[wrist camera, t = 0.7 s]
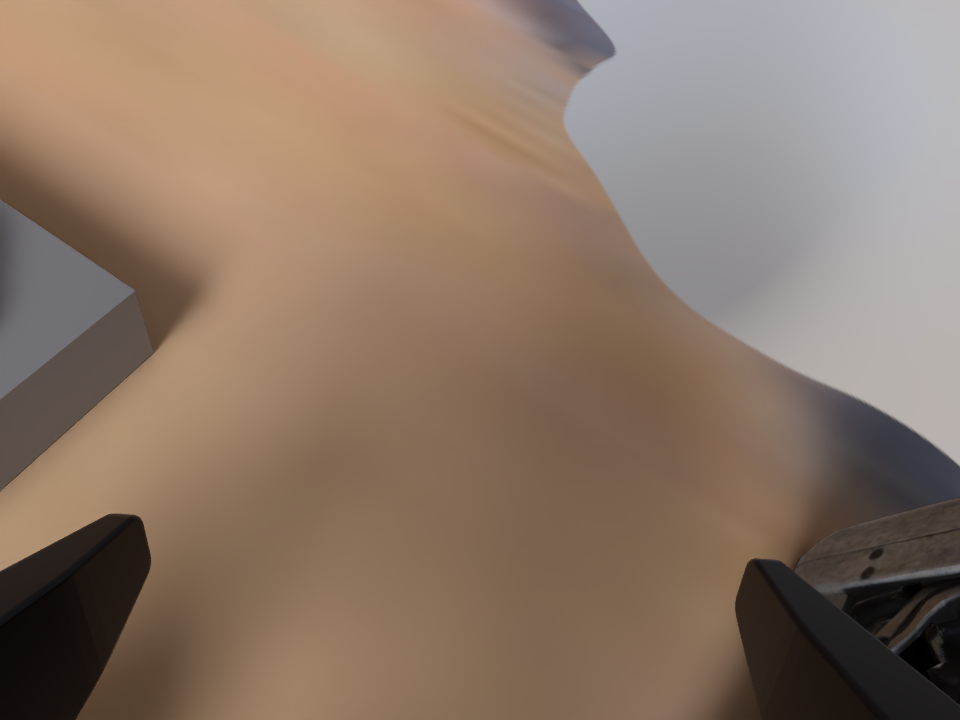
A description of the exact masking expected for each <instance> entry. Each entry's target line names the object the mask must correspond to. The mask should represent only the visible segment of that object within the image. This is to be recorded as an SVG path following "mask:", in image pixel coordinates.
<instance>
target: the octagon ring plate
mask: <svg viewBox="0 0 960 720" xmlns="http://www.w3.org/2000/svg"><path fill="white" fill-rule="evenodd" d="M153 353H154V352H153V349H152V345H151V342H150V338H149V335H148V332H147V328H146V325H145V321H144V318H143V315H142V311H141V308H140V305H139V301H138V298H137V294H136V291H135V290H134V289H132V288H131V287H129V286H128V285H126V284H125V283H123V282H122V281H120V280H119V279H117V278H116V277H114V276H113V275H111V274H110V273H109V272H107V271H106V270H104V269H103V268H101V267H100V266H98V265H97V264H95V263H94V262H92V261H91V260H89V259H88V258H86V257H85V256H83V255H82V254H80V253H79V252H77V251H76V250H74V249H73V248H71V247H70V246H68V245H67V244H66V243H64V242H63V241H61V240H60V239H58V238H57V237H55V236H54V235H52V234H51V233H49V232H48V231H46V230H45V229H43V228H42V227H40V226H39V225H37V224H36V223H34V222H33V221H31V220H30V219H28V218H27V217H26V216H24V215H23V214H21V213H20V212H18V211H17V210H15V209H14V208H12V207H11V206H9V205H8V204H6V203H5V202H3V201H2V200H0V490H1V489H3V488H4V487H5V486H6V485H7V484H8V483H9V482H10V481H11V480H13V479H14V478H15V477H16V476H17V475H18V474H19V473H20V472H21V471H23V470H24V469H25V468H26V467H27V466H28V465H29V464H30V463H31V462H33V461H34V460H35V459H36V458H37V457H38V456H39V455H40V454H42V453H43V452H44V451H45V450H46V449H47V448H48V447H49V446H50V445H52V444H53V443H54V442H55V441H56V440H57V439H58V438H59V437H60V436H62V435H63V434H64V433H65V432H66V431H67V430H68V429H69V428H70V427H72V426H73V425H74V424H75V423H76V422H77V421H78V420H79V419H81V418H82V417H83V416H84V415H85V414H86V413H87V412H88V411H89V410H91V409H92V408H93V407H94V406H95V405H96V404H97V403H98V402H99V401H101V400H102V399H103V398H104V397H105V396H106V395H107V394H108V393H110V392H111V391H112V390H113V389H114V388H115V387H116V386H117V385H118V384H120V383H121V382H122V381H123V380H124V379H125V378H126V377H127V376H128V375H130V374H131V373H132V372H133V371H134V370H135V369H136V368H137V367H138V366H140V365H141V364H142V363H143V362H144V361H145V360H146V359H147V358H149V357H150V356H151V355H152V354H153Z"/></svg>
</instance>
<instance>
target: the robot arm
mask: <svg viewBox="0 0 960 720" xmlns="http://www.w3.org/2000/svg"><path fill="white" fill-rule="evenodd" d="M150 566H151V554H150V550H149V546H148V542H147V537H146V533H145V529H144V524H143V521H142V520H141V518H140V517H139V516H136V515H130V514H109V515H106V516H104V517H102V518H100V519H98V520H97V521H95V522H93V523H91V524H89V525H87V526H85V527H83V528H81V529H80V530H78V531H76V532H74V533H72V534H70V535H68V536H66V537H64V538H63V539H61V540H59V541H57V542H55V543H53V544H51V545H49V546H47V547H45V548H44V549H42V550H40V551H38V552H36V553H34V554H32V555H30V556H28V557H27V558H25V559H23V560H21V561H19V562H17V563H15V564H13V565H11V566H10V567H8V568H6V569H4V570H2V571H0V720H76V718H77V716H78V715H79V713H80V711H81V709H82V708H83V706H84V704H85V703H86V701H87V699H88V697H89V696H90V694H91V692H92V691H93V689H94V687H95V685H96V683H97V682H98V680H99V678H100V676H101V674H102V673H103V671H104V669H105V667H106V665H107V663H108V661H109V659H110V657H111V654H112V652H113V650H114V648H115V646H116V644H117V641H118V639H119V637H120V635H121V633H122V630H123V628H124V626H125V624H126V622H127V620H128V617H129V615H130V613H131V611H132V609H133V606H134V604H135V602H136V600H137V598H138V596H139V593H140V591H141V589H142V587H143V585H144V582H145V580H146V578H147V576H148V573H149V570H150ZM735 611H736V618H737V622H738V626H739V631H740V635H741V639H742V643H743V648H744V652H745V656H746V660H747V665H748V669H749V673H750V677H751V682H752V686H753V690H754V694H755V699H756V703H757V707H758V711H759V714H760V718H761V720H960V705H959V704H957V703H956V702H955V701H954V700H952V699H951V698H950V697H949V696H948V695H946V694H945V693H944V692H943V691H941V690H940V689H939V688H938V687H936V686H935V685H934V684H933V683H931V682H930V681H929V680H928V679H926V678H925V677H924V676H923V675H921V674H920V673H919V672H918V671H917V670H915V669H914V668H913V667H912V666H910V665H909V664H908V663H907V662H905V661H904V660H903V659H902V658H900V657H899V656H898V655H897V654H895V653H894V652H893V651H892V650H891V649H889V648H888V647H887V646H886V645H884V644H883V643H882V642H881V641H879V640H878V639H877V638H876V637H874V636H873V635H872V634H871V633H869V632H868V631H867V630H866V629H864V628H863V627H862V626H861V625H860V624H858V623H857V622H856V621H855V620H853V619H852V618H851V617H850V616H848V615H847V614H846V613H845V612H843V611H842V610H841V609H840V608H838V607H837V606H836V605H835V604H833V603H832V602H831V601H830V600H829V599H827V598H826V597H825V596H824V595H822V594H821V593H820V592H819V591H817V590H816V589H815V588H814V587H812V586H811V585H810V584H809V583H807V582H806V581H805V580H804V579H803V578H801V577H800V576H799V575H798V574H796V573H795V572H794V571H793V570H791V569H790V568H789V567H788V566H786V565H785V564H784V563H782V562H781V561H778V560H771V559H757V558H755V559H751V560H750V561H749V562H748V563H747V566H746V568H745V571H744V575H743V578H742V581H741V584H740V587H739V591H738V594H737V597H736V602H735Z"/></svg>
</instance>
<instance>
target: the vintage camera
mask: <svg viewBox="0 0 960 720" xmlns="http://www.w3.org/2000/svg"><path fill="white" fill-rule="evenodd" d="M794 572H795V573H796V574H798V575H799V576H800V577H801V578H803V579H804V580H805V581H806V582H807V583H809V584H810V585H811V586H812V587H814V588H815V589H816V590H817V591H819V592H820V593H821V594H822V595H824V596H825V597H826V598H827V599H829V600H830V601H831V602H832V603H833V604H835V605H836V606H837V607H838V608H840V609H841V610H842V611H843V612H845V613H846V614H847V615H848V616H850V617H851V618H852V619H853V620H855V621H856V622H857V623H858V624H860V625H861V626H862V627H863V628H864V629H866V630H867V631H868V632H869V633H871V634H872V635H873V636H874V637H876V638H877V639H878V640H879V641H881V642H882V643H883V644H884V645H886V646H887V647H888V648H889V649H891V650H892V651H893V652H894V653H895V654H897V655H898V656H899V657H900V658H902V659H903V660H904V661H905V662H907V663H908V664H909V665H910V666H912V667H913V668H914V669H915V670H917V671H918V672H919V673H920V674H921V675H923V676H924V677H925V678H926V679H928V680H929V681H930V682H931V683H933V684H934V685H935V686H936V687H938V688H939V689H940V690H941V691H943V692H944V693H945V694H946V695H948V696H949V697H950V698H951V699H952V700H954V701H955V702H956V703H957V704H959V705H960V497H959V498H955V499H951V500H947V501H943V502H940V503H936V504H932V505H928V506H924V507H921V508H917V509H913V510H909V511H905V512H901V513H897V514H893V515H889V516H886V517H882V518H879V519H875V520H872V521H868V522H865V523H861V524H858V525H854V526H851V527H847V528H844V529H840V530H837V531H835V532H834V533H832V534H830V535H828V536H827V537H825V538H823V539H821V540H820V541H819V542H818V543H817V544H815V545H814V546H813V547H812V548H811V549H810V550H809V551H807V552H806V553H805V554H804V555H803V556H802V557H801V558H800V560H799V562H798V564H797V565H796V568H795V570H794Z"/></svg>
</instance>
